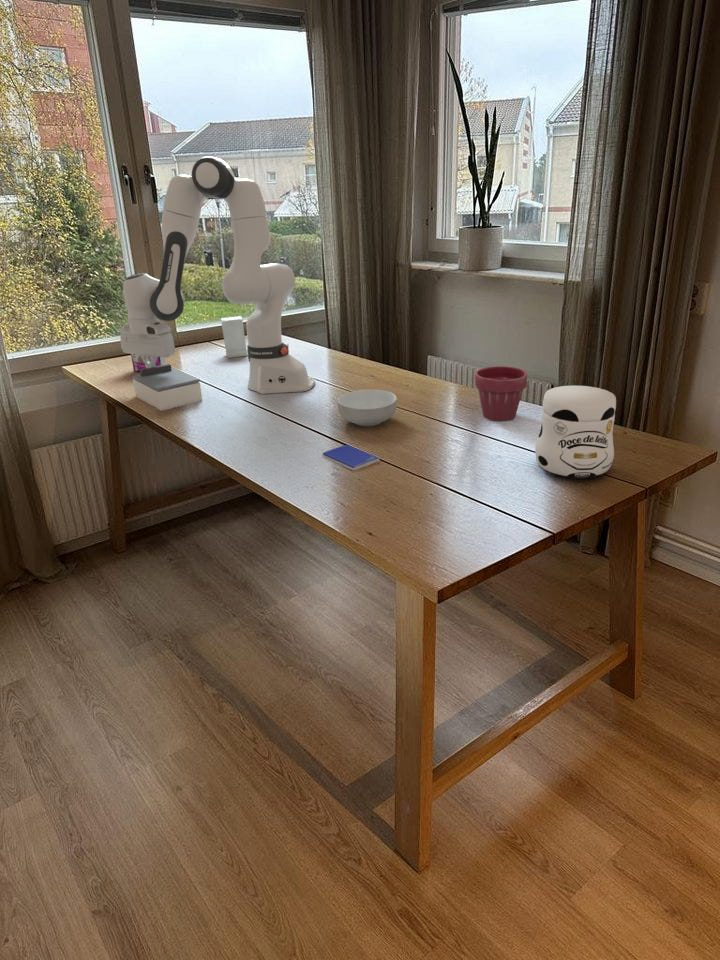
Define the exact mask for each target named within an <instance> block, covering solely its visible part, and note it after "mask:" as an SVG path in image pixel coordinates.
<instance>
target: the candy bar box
mask: <svg viewBox="0 0 720 960" xmlns="http://www.w3.org/2000/svg"><path fill="white" fill-rule="evenodd" d="M130 356H131V363H132V369H133V372H134V373H135V372H136V373H138V372H139V373H140V370H141V369H146V367H145V363H144V361H143V360H142V358H141V355H139V354H130ZM148 359H149V361H151V359H150V358H149V356H148ZM155 364H156V366H160V365H165V364H167V363H166V357H159V356H157V360H156V362H155Z"/></svg>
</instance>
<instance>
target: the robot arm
mask: <svg viewBox="0 0 720 960" xmlns="http://www.w3.org/2000/svg"><path fill="white" fill-rule="evenodd" d="M221 199H222V200H224V201H225V203H226V204H227V207H228V210H229V216H230V221H231V223H230V224H231V227H232V235H233V243H234V250H233V257H232V261H231V265H230V266H229V268H228V270H227V272H226V273H224V275H223V278H222V281H221V288H222V292H223V295H224V298H226V300H227V301H228V302H229V303H231V304H237V305H248V304H254V303H256V304H255V308H254V311H253V312H252V313H251V314H250V315H249V316H248V317H247V319H246V322H245V323H246V324H245V327H246V334H247V344H246V350H247V360H248V362H249V375H248V376H249V377H248V381H247V382H248V383H247V388H248V389H249V390H252V391H254V392H257V393H258V394H261V395H262V394H263V395H265V394H283V393H284V394H285V393H296V392H306V391H309V390H311V389H312V388H313V387H314V386H315V384H316V381H315V378H313V376H308V370H307V367H306V365H305V364H304V363H303V362H301V361H300V360H298V359H297V358H295V357H294V356H293V355H291V354H290V353H289V352H290V351H289V350H290V349H289V343H288V344H285V343H284V342H282V341H283V340H282V313H283V309H284V308H285V307H284V306H285V303H286V301H287V299H288V298H289V296H290V295H291V294H292V292H294V289H295V286H296V277H295V274H294V271H293V269H292V268H291V267H290V266H289V265H287V264H284V263H277V262H276V263H275V262H273V263H272V262H271V263H266V264H264V263H263V264H261V261H262V260H261V259H262V255H263V253H264V252H265V251H266V250H267V249H268V247H269V246H270V244H271V236H270V229H269V228H270V227H269V222H268V214H267V209H266V203H265V202H264V201H265V200H264V197H263V193H262V191H261V188H260V186H259V184H258V183H257V182H256V181H255V180H252V179H249V178H237V175H236V172H235V171H234V168H233V167H231V165H229V163H227V162H226V161H224V160H223V159H222V158H218V157H215V156H211V155H209V156H208V155H207V156H202V157H201V158H199V159H198V160H196V161H195V162H194V164H193V166H192V170H191V175H188V174H176V175H175V176H173V177H172V178H171V179H170V180H169V183H168V185H167V190H166V193H165V196H164V201H163V205H162V206H163V207H162V212H161V235H162V237H161V238H162V245H163V256H162V257H163V258H162V264H161V271H160V276H159V279H158V278H155V277H153V276H151V275H149V274H148V273H145V272H139V273H138V272H137V273H135V274H131V275H129V276H127V277H126V278H125V279H124V280H123V284H122V289H123V291H122V292H123V299H124V304H125V306H126V309H127V321H128V324H123V325H121V327H120V328H119V330H120V331H119V332H120V336H119V337H120V347H121V350H122V352H123V354H130V355H131V354H139V355H141V358H142V360H143V361H144V363H145V367H146V368H150V367H155V366H156V364H155V362H156V360H157V356H159V357H165V358H169V357H173V356H174V355H175V353H176V346H175V343H174V337H173V335H172V333H171V331H172V328H171V327H172V326H171V325H170V324H169V323H167V322H171V321H175V320H176V319H178V318H180V316H182V314H183V312H184V310H185V309H184V307H185V306H184V305H185V303H184V293H183V291H182V289H181V287H182V279H183V273H184V267H185V262H186V258H187V256H188V253H189V251H190V248H191V246H192V244H193V242H194V239H195V237H196V235H197V231H198V229H199V224H200V218H201V211H202V207H203V204H204V203H205V201H206V200H221ZM165 321H166V322H165ZM148 356H149V358H150V359H151V361H149V359H148Z"/></svg>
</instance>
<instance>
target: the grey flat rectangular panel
mask: <svg viewBox="0 0 720 960" xmlns="http://www.w3.org/2000/svg"><path fill="white" fill-rule="evenodd" d="M131 377H132V380H133V379H135V380H137V381H139V382H141V383H143V384H145V385H147V386H149V387H151V388H153V389H155V390H157V391H160V390H165V389H169V388H174V387H178V386H182V385H187V384H191V383H196V382H200V378H197V377H196V376H193V375H191V374H188V373H186V372H185V371H181V370H180V369H177V368H175V367H174V366H173V367H172V364H170V363H166V364H165V365H160V366H155V367H150V368H146V369H141V370H140V372H139V373H138V374H134V375H131ZM200 383H201V382H200Z"/></svg>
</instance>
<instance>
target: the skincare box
mask: <svg viewBox="0 0 720 960" xmlns="http://www.w3.org/2000/svg"><path fill="white" fill-rule="evenodd" d="M220 320H221V321H220V322H221V329H222V336H223V341H224V348H225V354H226V357H227V359H230V358H237V357H238V358H239V357H240V358H241V357H248V354H247V344H246V336H245V329H244V321H243V317H242V315H239V316H237V315H236V316H232V317H230V316H229V317H221V318H220Z"/></svg>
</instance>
